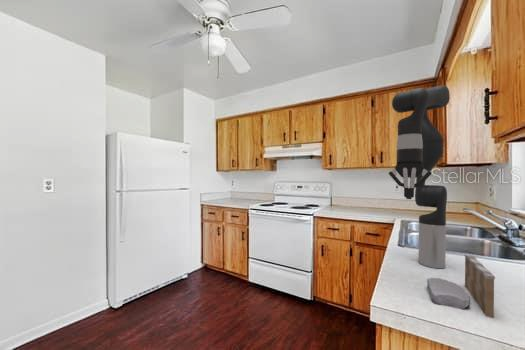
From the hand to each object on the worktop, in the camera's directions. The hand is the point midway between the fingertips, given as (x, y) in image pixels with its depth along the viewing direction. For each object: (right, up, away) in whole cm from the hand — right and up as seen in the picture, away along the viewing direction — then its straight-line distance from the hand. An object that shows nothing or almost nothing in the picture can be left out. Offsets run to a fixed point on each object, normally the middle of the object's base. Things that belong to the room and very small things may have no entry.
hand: (408, 198), depth 81 cm
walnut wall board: (+14, -29, -10) cm, 34 cm away
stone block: (+6, -30, -10) cm, 32 cm away
